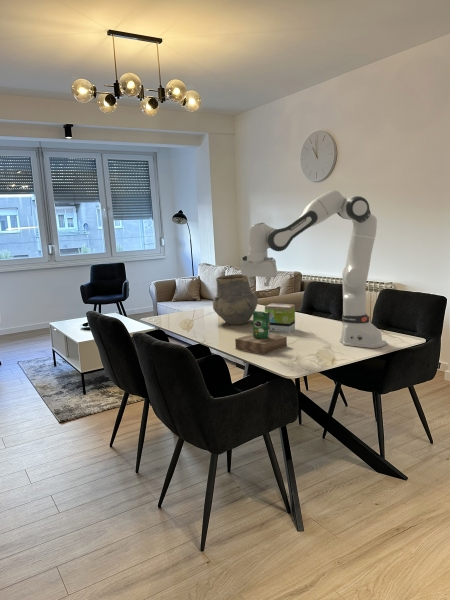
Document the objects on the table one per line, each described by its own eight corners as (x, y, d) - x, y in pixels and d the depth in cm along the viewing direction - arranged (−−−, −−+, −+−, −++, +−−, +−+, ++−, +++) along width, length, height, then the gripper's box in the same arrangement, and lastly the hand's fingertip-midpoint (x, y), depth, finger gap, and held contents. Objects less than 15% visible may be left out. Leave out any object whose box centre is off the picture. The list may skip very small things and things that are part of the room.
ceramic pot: (267, 322, 284) (266, 274, 280) (230, 329, 269) (228, 279, 264) (240, 316, 308) (239, 272, 303) (205, 322, 292) (202, 276, 287)
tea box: (264, 331, 261) (264, 305, 259) (271, 327, 270) (270, 302, 268) (289, 332, 254) (289, 306, 252) (295, 329, 263) (295, 303, 261)
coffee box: (270, 337, 225) (269, 311, 223) (268, 338, 222) (267, 312, 220) (255, 336, 228) (254, 310, 226) (253, 337, 226) (252, 311, 224)
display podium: (286, 346, 226) (286, 336, 225) (263, 354, 213) (263, 344, 213) (259, 341, 239) (258, 331, 238) (235, 348, 226) (235, 338, 225)
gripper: (279, 256, 214) (280, 286, 216) (247, 256, 228) (248, 283, 230) (271, 258, 210) (271, 287, 212) (238, 257, 224) (239, 285, 226)
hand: (259, 285), depth 221 cm, fingers open, 8 cm apart
